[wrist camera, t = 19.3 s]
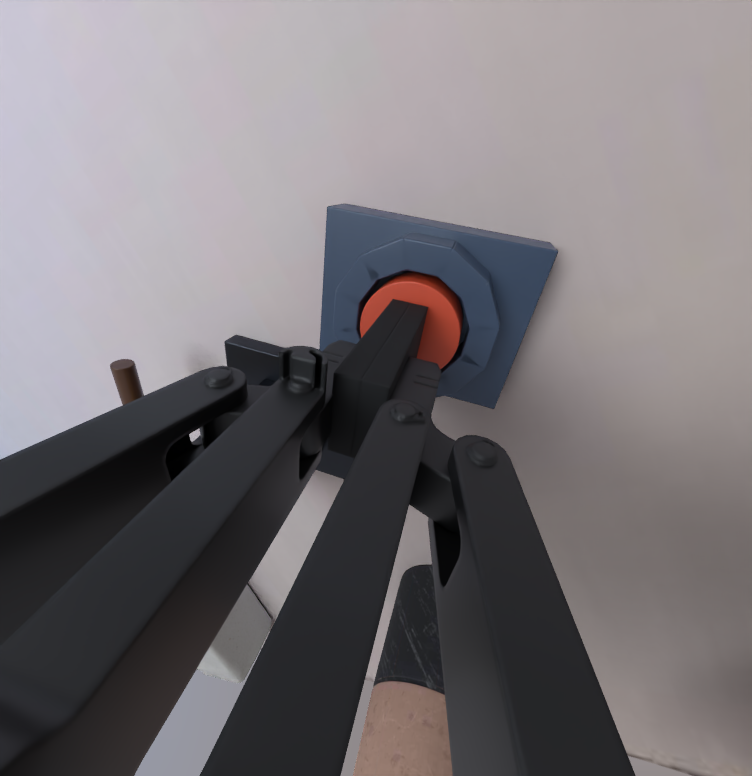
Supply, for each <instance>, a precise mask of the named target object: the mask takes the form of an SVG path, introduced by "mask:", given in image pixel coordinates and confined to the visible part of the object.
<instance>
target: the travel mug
mask: <svg viewBox="0 0 752 776" xmlns="http://www.w3.org/2000/svg"><path fill="white" fill-rule="evenodd" d="M353 776H453V773H452V763H451V752H450V742H449V732H448V721H447V711H446V701H445V691H444V680H443V670H442V660H441V650H440V639H439V629H438V619H437V609H436V598H435V588H434V578H433V567H432V565H421V566H416V567H413V568H410V569H409V570H407V571H406V572H405V573H404V575H403V576H402V579H401V582H400V586H399V589H398V593H397V597H396V600H395V604H394V608H393V612H392V616H391V620H390V624H389V627H388V631H387V635H386V639H385V643H384V647H383V650H382V654H381V658H380V662H379V666H378V670H377V674H376V677H375V681H374V687H373V690H372V694H371V698H370V702H369V707H368V711H367V716H366V720H365V724H364V729H363V733H362V738H361V743H360V747H359V751H358V756H357V761H356V765H355V769H354V774H353Z"/></svg>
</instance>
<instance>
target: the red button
mask: <svg viewBox="0 0 752 776" xmlns="http://www.w3.org/2000/svg"><path fill="white" fill-rule="evenodd" d="M392 299H396V300H400V301H405V302H409V303H413V304H418V305H422V306H426V307H428V311H427V315H426V320H425V324H424V328H423V333H422V337H421V341H420V346H419V350H418V354H417V358H418V359H422V360H426V361H429V362H433V363H437V364H438V366H439V368H440V369H442V368H443V367H444V366H445V365H446V364H447V363H448V362H449V361H450V360H451V359H452V357H453V356H454V354H455V352H456V350H457V348H458V345H459V340H460V335H461V331H462V326H463V312H462V307H461V304H460V301H459V299H458V297H457V295H456V294H455V293H454V292H453V291H452V290H451V289H450V288H449V287H448V286H447V285H446V284H445V283H444V282H443V281H442V280H441V279H439V278H437V277H435V276H432V275H427V274H423V273H418V272H409V273H404V274H400V275H398V276H395V277H393V278H392V279H390V280H389V281H387V282H386V283H385V284H384V285H383V286H382V287H381V288H380V289H379V290H378V291H377V292H376V293H374V295H373V296H372V297H371V298H370V299H369V300H368V302H367V303H366V305H365V307H364V309H363V312H362V315H361V320H360V332H361V338H362V337H363V335H364V334H365V333H366V332H367V331H368V329H369V328H370V327H371V326H372V324H373V323H374V322H375V321H376V319H377V318H378V317H379V316H380V314H381V313H382V312H383V311H384V309H385V308H386V307H387V306H388V304H389V303H390V302H391V301H392Z"/></svg>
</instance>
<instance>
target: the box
mask: <svg viewBox="0 0 752 776" xmlns="http://www.w3.org/2000/svg"><path fill="white" fill-rule="evenodd" d="M271 623H272V621H271V618H270V617H269V615H268V613H267V612H266V611H265V609H264V608H263V606H262V605H261V603H260V602H259V601H258V599H257V598H256V596H255V594H254V593H253V592H252V590H251V589H250V587H249V586H248V585H246V587H245V589H244V590H243V592H242V594H241V595H240V597H239V599H238V600H237V602H236V604H235V605H234V607H233V609H232V610H231V612H230V614H229V615H228V617H227V619H226V620H225V622H224V624H223V625H222V627H221V629H220V631H219V632H218V634H217V636H216V637H215V639H214V641H213V642H212V644H211V646H210V647H209V649H208V651H207V652H206V654H205V656H204V657H203V659H202V661H201V662H200V664H199V666H198V667H197V670H200V671H202V672H203V673H204V674H205V675H208V676H211V677H215V678H220V679H223V680H226V681H230V682H234V683H241V682H242V681H243V680H244V679H245V677H246V675H247V674H248V672H249V670H250V668H251V666H252V664H253V663H254V661H255V659H256V657H257V655H258V653H259V651H260V649H261V647H262V645H263V642H264V640H265V638H266V636H267V634H268V632H269V629H270V627H271Z"/></svg>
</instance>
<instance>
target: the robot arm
mask: <svg viewBox="0 0 752 776" xmlns="http://www.w3.org/2000/svg"><path fill="white" fill-rule="evenodd" d="M427 311H428V307H426V306H422V305H418V304H413V303H409V302H405V301H400V300H396V299H392V301H391V302H390V303H389V304H388V306H387V307H386V308H385V309H384V311H383V312H382V313H381V314H380V316H379V317H378V318H377V319H376V321H375V322H374V323H373V324H372V326H371V327H370V328H369V329H368V331H367V332H366V333H365V334H364V335H363V337H362V338H361V339H360V340H359V342H358V343H357V344H355V343H351V342H347V341H343V340H339V341H336V342H334V343H331V344H329V345H328V346H327V347H326V348H325V349H324V350H323V352H322V351H321V350H318V349H315V348H313V347H306V346H293V347H288V348H285V349H283V350H281V351H279V379H278V380H277V381H276V382H275V383H274V384H273V385H272V386H261V385H247V379H246V376H245V373H243V372H242V371H241V370H239V369H236V368H233V367H227V366H226V367H225V366H219V367H211V368H208V369H205V370H202V371H199V372H197V373H195V374H193V375H190V376H188V377H186V378H184V379H181V380H179V381H177V382H175V383H172V384H170V385H168V386H166V387H163V388H161V389H159V390H157V391H154V392H152V393H150V394H148V395H145V396H143V397H141V398H138V399H136V400H134V401H132V402H129V403H127V404H125V405H123V406H120V407H118V408H116V409H114V410H111V411H109V412H107V413H105V414H102V415H100V416H98V417H96V418H93V419H91V420H89V421H87V422H84V423H82V424H80V425H78V426H75V427H73V428H71V429H68V430H66V431H64V432H62V433H59V434H57V435H55V436H53V437H50V438H48V439H46V440H44V441H41V442H39V443H37V444H35V445H32V446H30V447H28V448H26V449H23V450H21V451H19V452H17V453H14V454H12V455H10V456H8V457H5V458H3V459H1V460H0V776H134V775H135V773H136V771H137V769H138V767H139V765H140V763H141V762H142V760H143V758H144V756H145V755H146V753H147V751H148V750H149V748H150V746H151V745H152V743H153V741H154V740H155V738H156V736H157V735H158V733H159V731H160V730H161V728H162V726H163V725H164V723H165V721H166V720H167V718H168V716H169V715H170V713H171V711H172V709H173V708H174V706H175V704H176V703H177V701H178V699H179V698H180V696H181V694H182V693H183V691H184V689H185V688H186V686H187V684H188V682H189V681H190V679H191V678H192V676H193V674H194V673H195V671H196V669H197V667H198V666H199V664H200V662H201V661H202V659H203V657H204V656H205V654H206V652H207V651H208V649H209V647H210V646H211V644H212V642H213V641H214V639H215V637H216V636H217V634H218V632H219V631H220V629H221V627H222V625H223V624H224V622H225V620H226V619H227V617H228V615H229V614H230V612H231V610H232V609H233V607H234V605H235V604H236V602H237V600H238V599H239V597H240V595H241V594H242V592H243V590H244V589H245V587H246V585H247V584H248V582H249V580H250V578H251V577H252V575H253V573H254V572H255V570H256V568H257V567H258V565H259V563H260V562H261V560H262V558H263V557H264V555H265V553H266V552H267V550H268V548H269V547H270V545H271V543H272V542H273V540H274V538H275V536H276V535H277V533H278V531H279V530H280V528H281V526H282V525H283V523H284V521H285V520H286V518H287V516H288V515H289V513H290V511H291V510H292V508H293V506H294V505H295V503H296V501H297V500H298V498H299V496H300V494H301V493H302V491H303V489H304V488H305V486H306V484H307V483H308V481H309V479H310V478H311V476H312V474H313V473H314V471H315V469H316V468H317V466H318V464H319V463H320V460H321V456H322V446H323V445H324V443H325V442H326V440H327V438H328V449H327V450H330V451H333V452H336V453H339V454H343V455H346V456H349V457H352V458H355V459H354V461H353V463H352V465H351V467H350V469H349V471H348V473H347V475H346V478H345V480H344V482H343V484H342V486H341V488H340V490H339V492H338V494H337V496H336V498H335V500H334V502H333V504H332V506H331V508H330V510H329V512H328V514H327V516H326V519H325V521H324V523H323V525H322V527H321V529H320V531H319V533H318V535H317V537H316V539H315V541H314V543H313V545H312V547H311V549H310V551H309V553H308V555H307V557H306V560H305V562H304V564H303V566H302V568H301V570H300V572H299V574H298V576H297V578H296V580H295V582H294V584H293V586H292V588H291V590H290V592H289V594H288V596H287V598H286V601H285V603H284V605H283V607H282V609H281V611H280V613H279V615H278V617H277V619H276V621H275V623H274V625H273V627H272V629H271V631H270V633H269V635H268V637H267V639H266V642H265V644H264V646H263V648H262V650H261V652H260V654H259V656H258V658H257V660H256V662H255V664H254V666H253V668H252V670H251V673H250V674H249V676H248V678H247V681H246V683H245V685H244V687H243V689H242V691H241V693H240V695H239V697H238V699H237V701H236V703H235V705H234V707H233V709H232V711H231V713H230V716H229V717H228V719H227V721H226V724H225V726H224V728H223V730H222V732H221V734H220V736H219V738H218V740H217V742H216V744H215V746H214V748H213V750H212V752H211V754H210V756H209V758H208V760H207V762H206V764H205V766H204V768H203V770H202V772H201V774H200V776H340V775H341V771H342V767H343V763H344V759H345V755H346V751H347V747H348V743H349V739H350V736H351V732H352V728H353V724H354V720H355V716H356V712H357V708H358V704H359V700H360V696H361V692H362V688H363V684H364V680H365V676H366V672H367V668H368V664H369V660H370V657H371V653H372V649H373V645H374V641H375V637H376V633H377V629H378V625H379V621H380V617H381V613H382V609H383V605H384V601H385V597H386V593H387V589H388V585H389V581H390V578H391V574H392V570H393V566H394V562H395V558H396V554H397V550H398V546H399V542H400V538H401V534H402V530H403V526H404V522H405V518H406V514H407V510H408V506H409V505H411V506H413V507H414V508H416V509H417V510H419V511H420V512H422V513H423V514H425V515H426V516H428V517H429V519H428V526H429V537H430V547H431V557H432V567H433V578H434V588H435V598H436V609H437V619H438V629H439V639H440V650H441V660H442V670H443V680H444V691H445V701H446V711H447V721H448V732H449V742H450V752H451V763H452V773H453V776H635V773H634V771H633V768H632V766H631V763H630V761H629V758H628V756H627V753H626V751H625V748H624V745H623V743H622V740H621V738H620V735H619V733H618V730H617V728H616V725H615V723H614V720H613V718H612V715H611V713H610V710H609V707H608V705H607V702H606V700H605V697H604V695H603V692H602V690H601V687H600V685H599V682H598V680H597V677H596V675H595V672H594V669H593V667H592V664H591V662H590V659H589V657H588V654H587V652H586V649H585V647H584V644H583V642H582V639H581V637H580V634H579V631H578V629H577V626H576V624H575V621H574V619H573V616H572V614H571V611H570V609H569V606H568V604H567V601H566V599H565V596H564V594H563V591H562V588H561V586H560V583H559V581H558V578H557V576H556V573H555V571H554V568H553V566H552V563H551V561H550V558H549V556H548V553H547V550H546V548H545V545H544V543H543V540H542V538H541V535H540V533H539V530H538V528H537V525H536V523H535V520H534V518H533V515H532V512H531V510H530V507H529V505H528V502H527V500H526V497H525V495H524V492H523V490H522V487H521V485H520V482H519V480H518V477H517V474H516V472H515V469H514V467H513V464H512V462H511V459H510V457H509V456H508V454H507V453H506V451H505V450H504V449H503V448H502V447H501V446H499V445H498V444H497V443H495V442H493V441H491V440H490V439H488V438H485V437H481V436H477V435H466V436H463V437H460V438H458V439H457V441H455V440H453V439H451V438H449V437H447V436H446V435H444V434H443V433H441V432H440V431H439V430H438V429H437V428H436V427H435V425H434V424H433V422H432V419H431V413H432V409H433V405H434V401H435V397H436V393H437V389H438V385H439V381H440V377H441V373H442V372H441V370H440V368H439V366H438V364H437V363H433V362H429V361H426V360H422V359H418V358H417V354H418V350H419V346H420V341H421V337H422V333H423V328H424V324H425V320H426V315H427ZM198 428H199V429H200V434H201V438H200V439H199V440H196V441H194V442H191V441H190V437H189V434H190V433H192V432H193V431H195V430H197V429H198Z"/></svg>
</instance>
